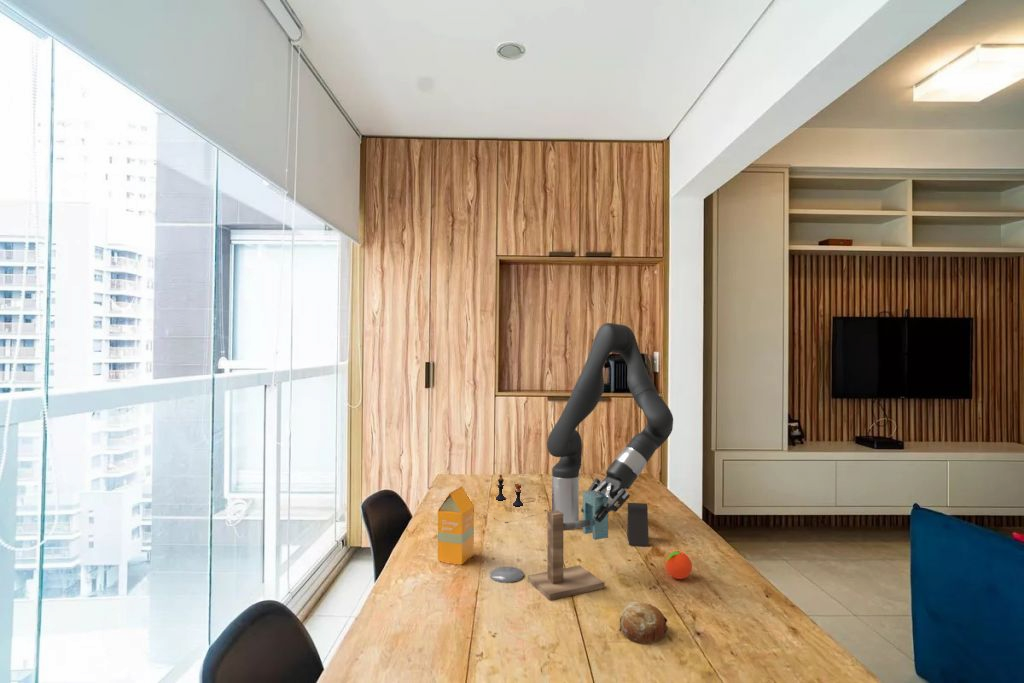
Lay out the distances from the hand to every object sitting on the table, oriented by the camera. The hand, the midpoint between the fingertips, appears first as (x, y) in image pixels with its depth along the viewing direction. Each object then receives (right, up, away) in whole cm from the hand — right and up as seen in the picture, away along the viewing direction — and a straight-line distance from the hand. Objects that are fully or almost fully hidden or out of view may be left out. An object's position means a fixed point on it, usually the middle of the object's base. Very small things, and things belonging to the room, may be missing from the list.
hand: (590, 516), depth 144 cm
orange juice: (-37, -17, +14) cm, 43 cm away
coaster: (-22, -17, +2) cm, 28 cm away
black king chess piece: (-22, -19, +74) cm, 80 cm away
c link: (+1, -5, +1) cm, 5 cm away
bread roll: (+8, -17, -27) cm, 32 cm away
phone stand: (+19, -17, +28) cm, 38 cm away
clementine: (+23, -17, 0) cm, 29 cm away
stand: (-7, -17, -4) cm, 18 cm away
